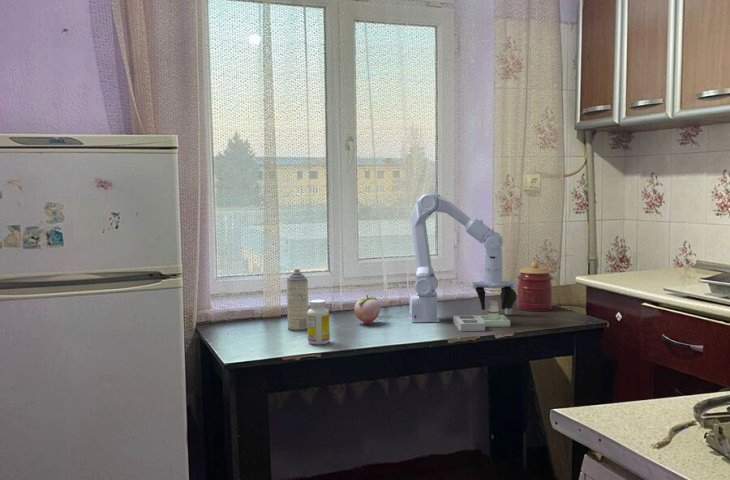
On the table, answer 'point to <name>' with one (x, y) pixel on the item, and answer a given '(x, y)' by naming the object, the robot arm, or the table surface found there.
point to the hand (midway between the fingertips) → (493, 309)
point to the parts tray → (495, 321)
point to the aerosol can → (297, 301)
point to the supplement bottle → (318, 323)
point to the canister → (534, 288)
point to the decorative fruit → (367, 309)
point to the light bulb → (509, 302)
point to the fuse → (493, 310)
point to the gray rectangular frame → (468, 323)
